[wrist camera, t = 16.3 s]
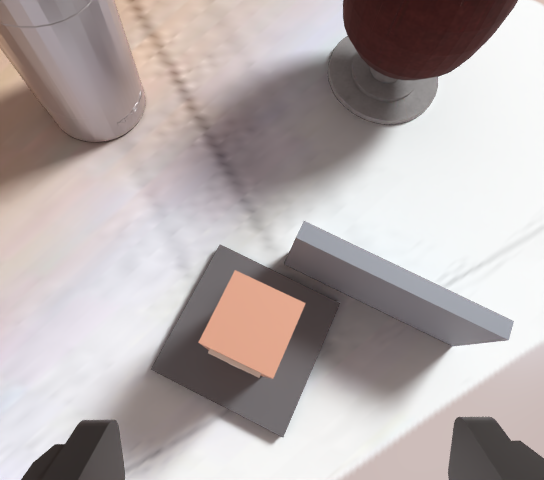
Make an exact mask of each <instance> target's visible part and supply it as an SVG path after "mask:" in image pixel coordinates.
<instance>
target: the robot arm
mask: <svg viewBox="0 0 544 480" xmlns="http://www.w3.org/2000/svg"><path fill="white" fill-rule="evenodd" d="M0 49H1V50H2V51H3V53H4V54H5V55H6V57H7V58H8V59H9V61H10V62H11V64H12V65H13V66H14V68H15V69H16V70H17V72H18V73H19V74H20V76H21V77H22V79H23V80H24V81H25V83H26V84H27V85H28V87H29V88H30V90H31V91H32V92H33V94H34V95H35V96H36V98H37V99H38V100H39V102H40V103H41V105H42V106H43V107H44V108H46V109H47V111H48V112H49V113H50V115H51V116H52V118H53V119H54V120H55V122H56V123H57V124H58V126H59V127H60V128H61V129H62V130H63V131H64V132H66V133H67V134H68V135H70V136H72V137H74V138H76V139H79V140H83V141H89V142H102V141H108V140H112V139H115V138H118V137H120V136H122V135H124V134H126V133H127V132H128V131H130V130H131V129H132V128H133V127H134V126H135V125H136V124H137V123H138V122H139V120H140V118H141V116H142V115H143V112H144V108H145V94H144V90H143V86H142V83H141V80H140V77H139V74H138V71H137V68H136V65H135V62H134V59H133V56H132V53H131V50H130V46H129V43H128V40H127V37H126V34H125V31H124V28H123V25H122V22H121V19H120V16H119V13H118V10H117V7H116V4H115V1H114V0H0ZM451 445H452V446H451V452H450V461H449V469H448V476H449V480H544V458H542V457H541V456H540V455H538V454H537V453H536V452H534V451H533V450H532V449H530V448H529V447H528V446H526V445H525V444H524V443H522V442H521V441H511V440H510V439H509V438H508V436H507V435H506V433H505V432H504V431H503V429H502V428H501V427H500V425H499V424H498V423H497V422H496V420H495V419H493V418H492V417H458V418H457V419H456V420H455V423H454V428H453V437H452V444H451ZM21 480H125V469H124V462H123V455H122V448H121V441H120V433H119V427H118V423H117V421H116V420H83V421H81V422H80V423H79V424H78V425H77V427H76V428H75V430H74V431H73V433H72V434H71V436H70V438H69V439H68V441H67V442H66V444H55V445H54V446H53V447H51V448H50V449H49V450H48V451H47V452H45V453H44V454H43V455H42V456H41V457H39V458H38V459H37V460H36V461H35V462H33V464H32V465H31V466H30V468H29V469H28V471H27V472H26V474H25V475H24V476H23V478H22V479H21Z"/></svg>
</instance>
